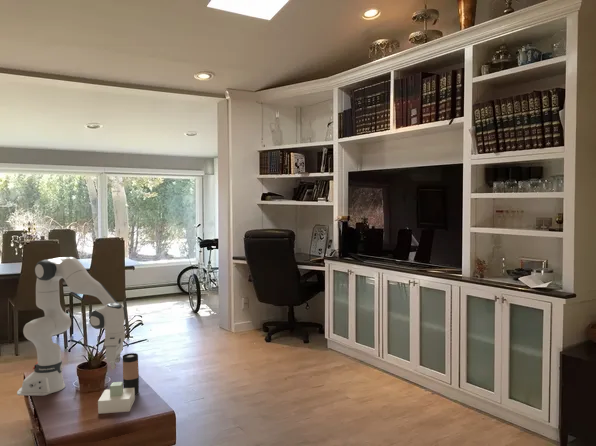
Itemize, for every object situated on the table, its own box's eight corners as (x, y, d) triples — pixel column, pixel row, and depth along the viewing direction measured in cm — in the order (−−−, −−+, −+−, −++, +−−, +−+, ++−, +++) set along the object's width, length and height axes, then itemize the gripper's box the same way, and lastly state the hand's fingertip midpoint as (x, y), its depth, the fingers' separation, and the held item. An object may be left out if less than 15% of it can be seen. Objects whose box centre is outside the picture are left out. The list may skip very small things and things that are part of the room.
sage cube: (110, 396, 233) (109, 386, 233) (112, 392, 238) (112, 382, 238) (121, 395, 234) (120, 385, 233) (123, 391, 239) (122, 381, 238)
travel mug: (120, 395, 250) (119, 356, 249) (131, 389, 256) (130, 352, 256) (131, 397, 246) (129, 358, 245) (142, 392, 253) (141, 354, 252)
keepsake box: (98, 413, 228) (97, 401, 228) (105, 401, 242) (105, 389, 241) (129, 411, 230) (129, 398, 230) (134, 399, 244) (134, 387, 244)
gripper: (112, 331, 244) (113, 358, 245) (103, 343, 224) (103, 373, 225) (126, 330, 245) (126, 358, 246) (117, 343, 225) (118, 372, 226)
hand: (115, 365), depth 235 cm, fingers open, 8 cm apart
